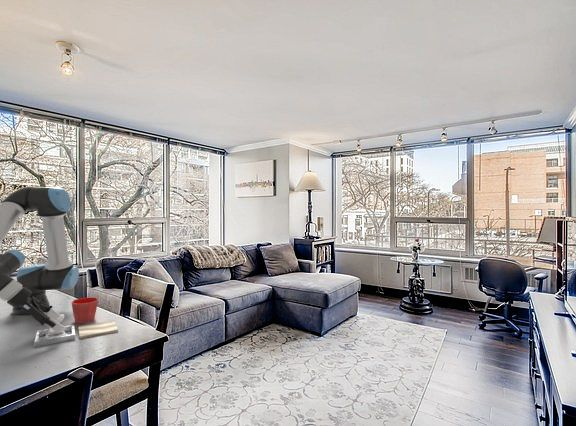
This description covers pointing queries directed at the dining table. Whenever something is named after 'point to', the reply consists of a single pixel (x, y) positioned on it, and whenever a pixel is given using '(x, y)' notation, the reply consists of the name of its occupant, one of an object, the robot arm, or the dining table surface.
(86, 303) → the flower pot
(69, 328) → the steel holder
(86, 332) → the birch pad
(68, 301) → the dining table surface
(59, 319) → the hook
